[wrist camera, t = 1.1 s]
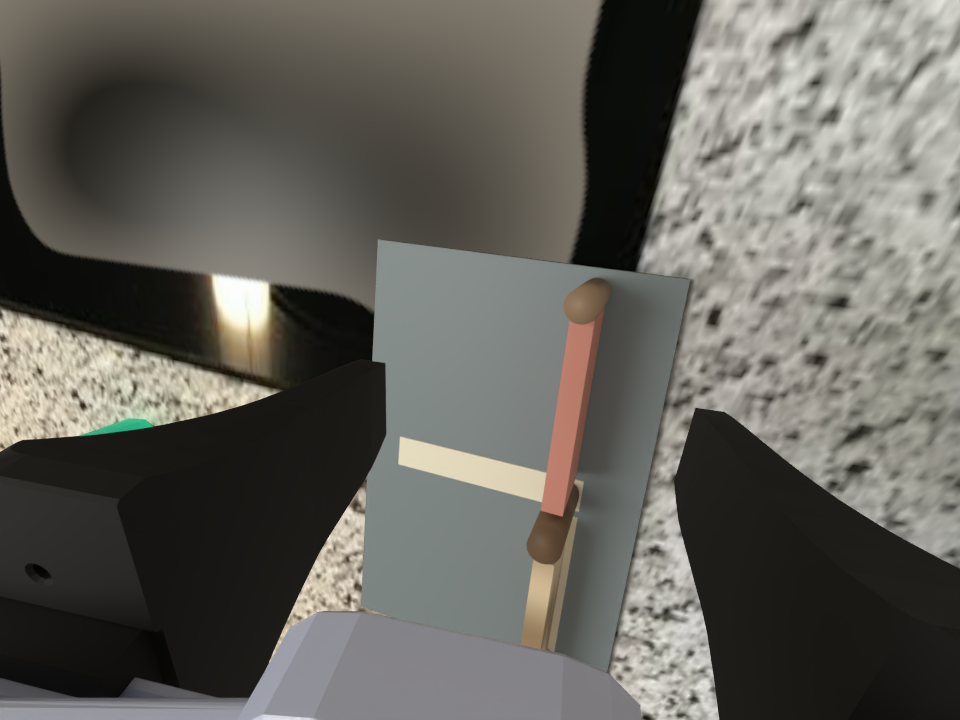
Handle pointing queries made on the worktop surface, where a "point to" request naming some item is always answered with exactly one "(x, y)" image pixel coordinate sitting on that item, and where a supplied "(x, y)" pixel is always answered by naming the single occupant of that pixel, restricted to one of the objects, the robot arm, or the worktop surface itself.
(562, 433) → the gate panel
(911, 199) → the worktop surface
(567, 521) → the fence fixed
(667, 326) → the card
